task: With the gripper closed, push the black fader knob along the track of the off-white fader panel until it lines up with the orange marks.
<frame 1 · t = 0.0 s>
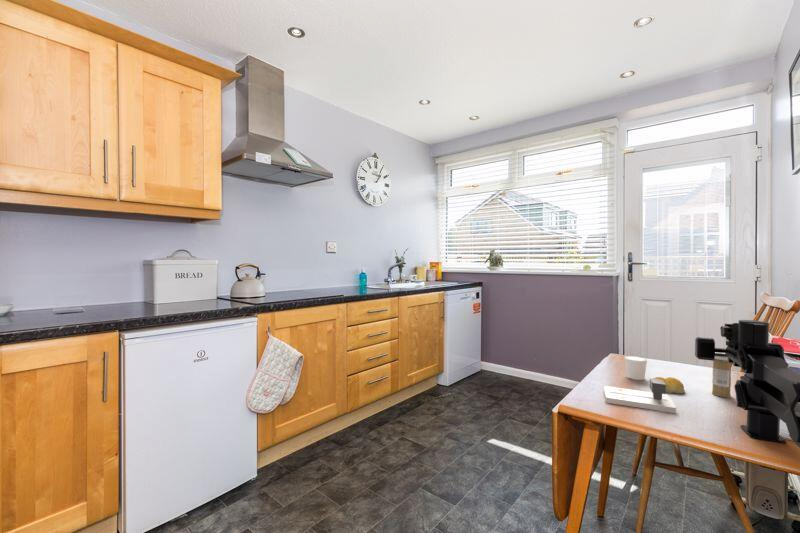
hand: (726, 345, 112), 17 cm above the table, tool horizontal, fingers open, 9 cm apart
sprinkles bottle: (720, 395, 116), on the table
fader panel: (637, 400, 111), on the table
white cup: (635, 377, 132), on the table
bread roll: (667, 390, 121), on the table
fader knob: (657, 389, 108), point 4 cm above the table, slide at -5.0 cm
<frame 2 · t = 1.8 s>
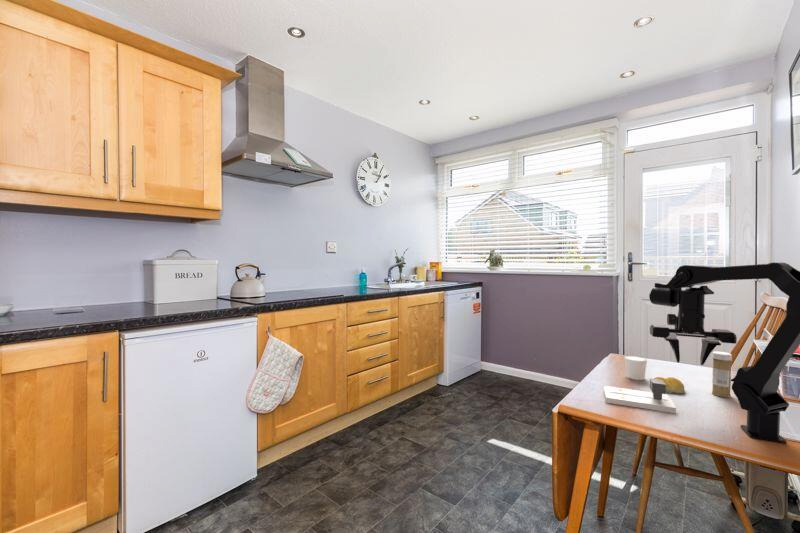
hand: (689, 363, 105), 13 cm above the table, tool pointing down, fingers open, 5 cm apart
nothing on the table moved.
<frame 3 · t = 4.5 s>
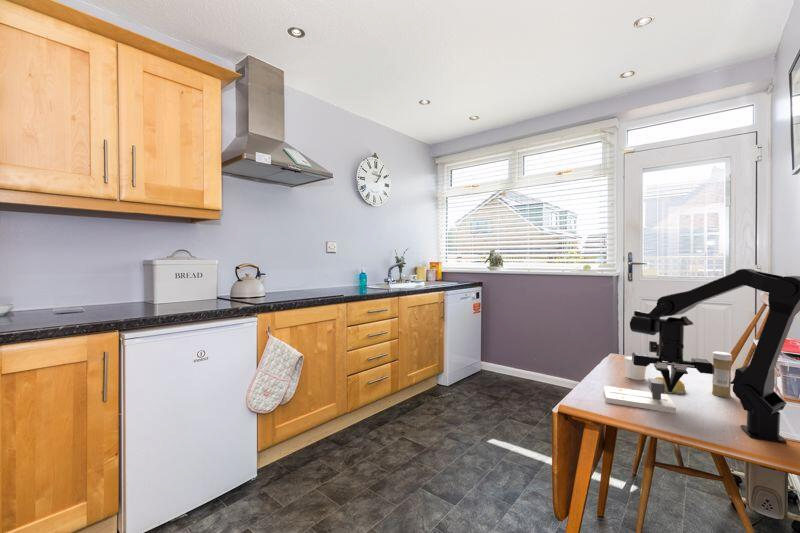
hand: (669, 391, 107), 4 cm above the table, tool pointing down, fingers closed
fader knob: (656, 389, 108), point 4 cm above the table, slide at -4.8 cm, touching gripper
everything else where it was.
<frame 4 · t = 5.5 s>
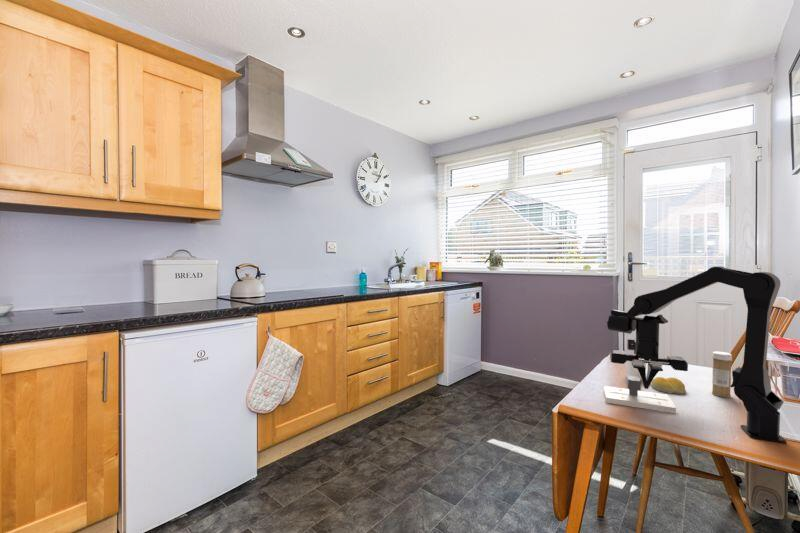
hand: (645, 388, 110), 4 cm above the table, tool pointing down, fingers closed
fader knob: (633, 386, 111), point 4 cm above the table, slide at 1.0 cm, touching gripper
everything else where it was.
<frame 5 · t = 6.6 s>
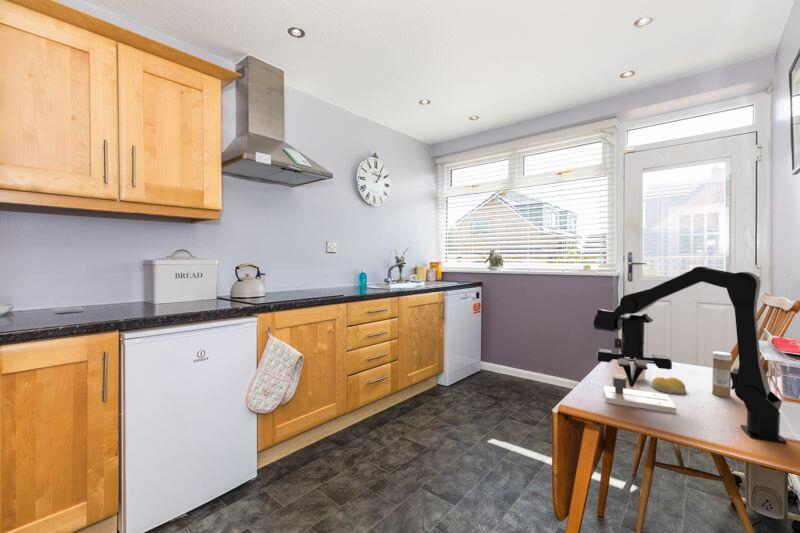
hand: (631, 386, 111), 4 cm above the table, tool pointing down, fingers closed
fader knob: (619, 384, 113), point 4 cm above the table, slide at 4.7 cm, touching gripper
everything else where it was.
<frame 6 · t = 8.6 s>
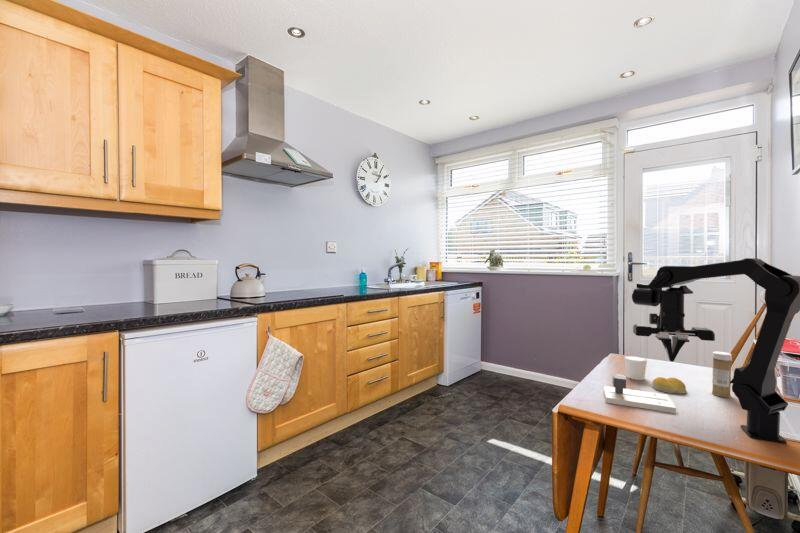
hand: (671, 361, 108), 13 cm above the table, tool pointing down, fingers closed
fader knob: (619, 384, 113), point 4 cm above the table, slide at 4.8 cm
everything else where it was.
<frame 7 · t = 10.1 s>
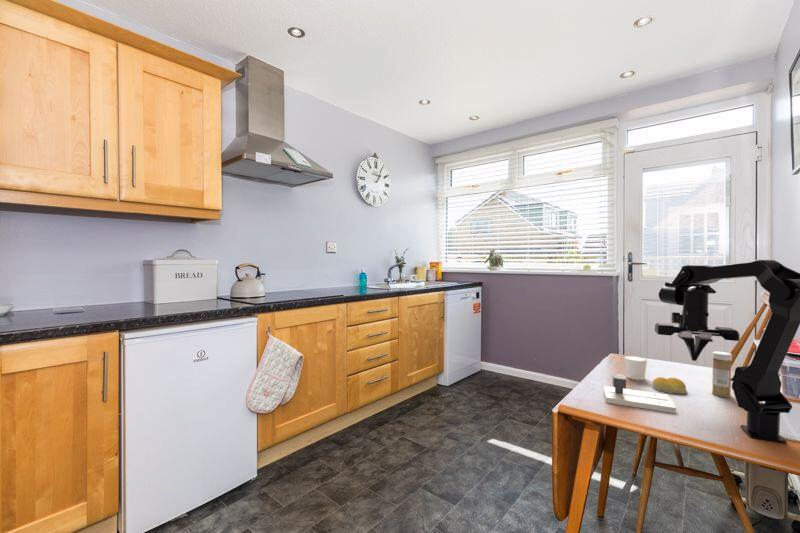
hand: (693, 360, 108), 13 cm above the table, tool pointing down, fingers closed
nothing on the table moved.
at the end: fader knob slide at 4.8 cm; bread roll moved 0.7 cm from its start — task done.
